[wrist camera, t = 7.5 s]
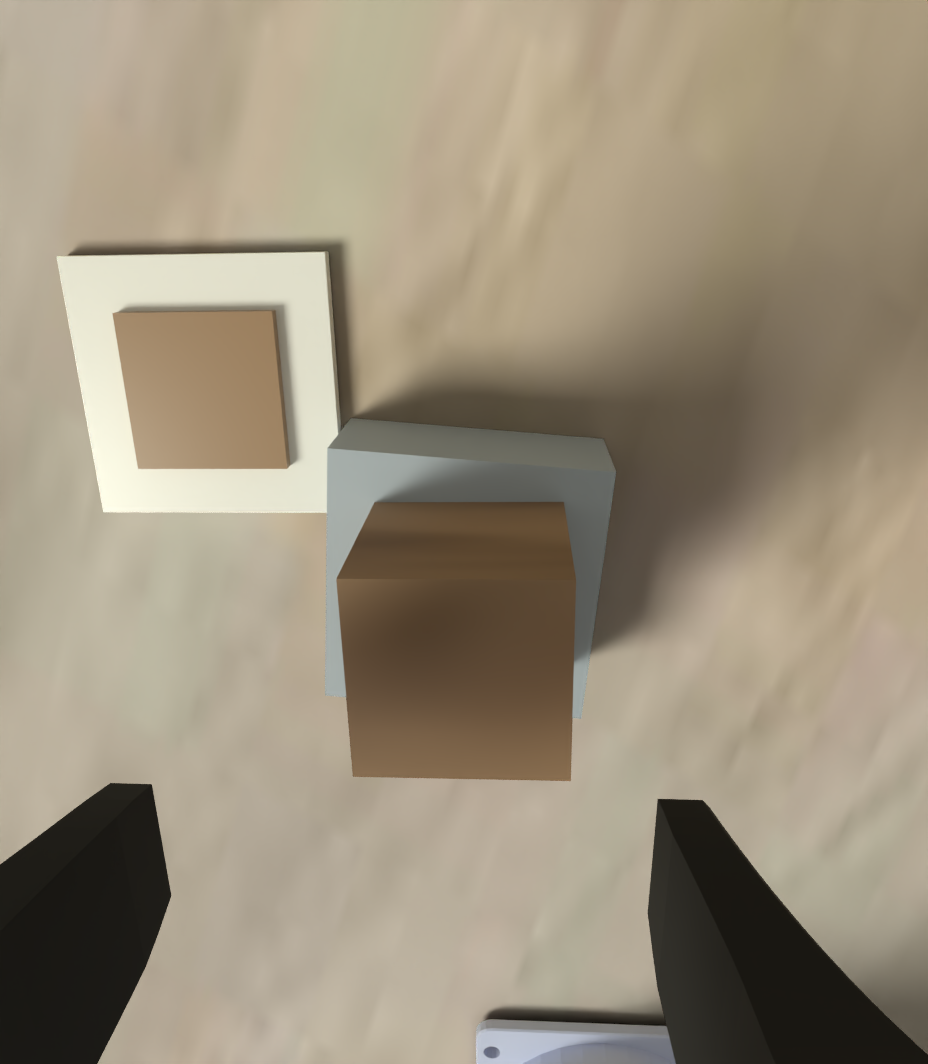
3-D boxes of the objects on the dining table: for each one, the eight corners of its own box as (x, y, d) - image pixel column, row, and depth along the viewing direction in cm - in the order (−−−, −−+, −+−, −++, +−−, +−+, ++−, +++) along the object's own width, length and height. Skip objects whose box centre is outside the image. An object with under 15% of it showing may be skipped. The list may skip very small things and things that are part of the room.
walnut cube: (560, 668, 19) (570, 780, 15) (385, 666, 19) (353, 776, 15) (563, 501, 17) (576, 579, 14) (374, 502, 18) (336, 578, 14)
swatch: (347, 507, 20) (341, 516, 20) (110, 506, 21) (97, 516, 20) (328, 251, 18) (321, 252, 18) (65, 255, 19) (49, 257, 18)
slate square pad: (572, 653, 22) (581, 718, 19) (349, 634, 22) (324, 695, 19) (602, 435, 20) (616, 472, 17) (353, 414, 20) (327, 447, 17)
